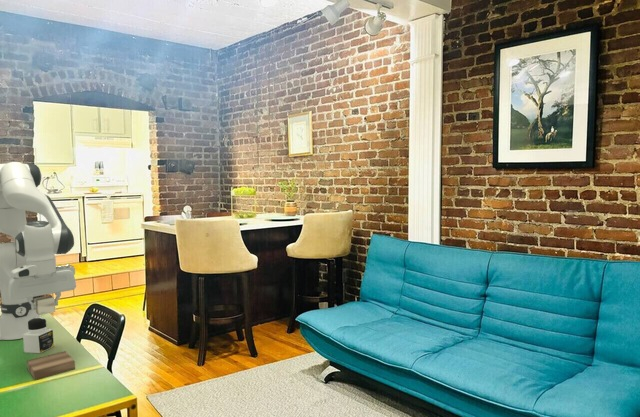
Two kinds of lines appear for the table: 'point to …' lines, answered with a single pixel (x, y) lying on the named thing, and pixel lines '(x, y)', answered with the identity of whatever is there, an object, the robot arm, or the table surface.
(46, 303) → the ash cube
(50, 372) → the walnut base
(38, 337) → the medicine bottle
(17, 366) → the table surface
